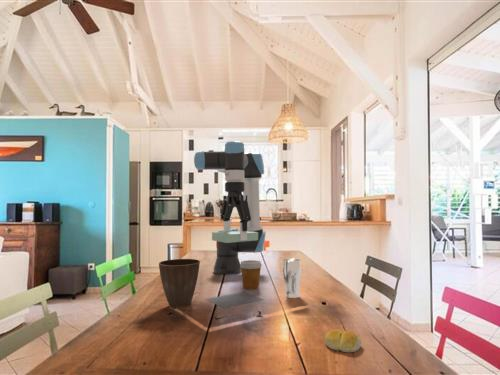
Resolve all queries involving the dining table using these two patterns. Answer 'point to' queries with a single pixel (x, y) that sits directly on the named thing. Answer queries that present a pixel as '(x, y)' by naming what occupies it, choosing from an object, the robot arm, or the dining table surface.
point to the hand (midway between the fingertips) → (235, 238)
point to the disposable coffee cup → (250, 274)
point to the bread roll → (342, 340)
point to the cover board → (233, 236)
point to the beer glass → (292, 277)
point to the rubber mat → (234, 299)
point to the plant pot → (179, 280)
